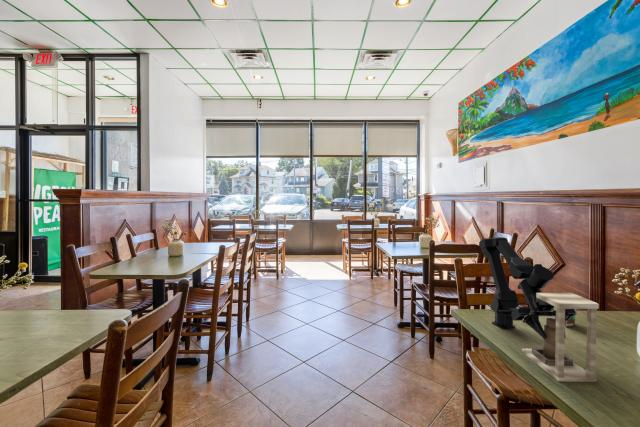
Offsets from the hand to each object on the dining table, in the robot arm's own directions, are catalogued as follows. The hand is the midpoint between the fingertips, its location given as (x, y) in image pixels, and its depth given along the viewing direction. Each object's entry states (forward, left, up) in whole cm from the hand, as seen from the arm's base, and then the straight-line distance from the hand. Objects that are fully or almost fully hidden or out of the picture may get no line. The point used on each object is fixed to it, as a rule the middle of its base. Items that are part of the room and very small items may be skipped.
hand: (554, 338), depth 100 cm
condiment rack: (+1, 0, -8) cm, 9 cm away
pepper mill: (-1, 0, -7) cm, 8 cm away
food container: (-26, +35, -9) cm, 44 cm away
